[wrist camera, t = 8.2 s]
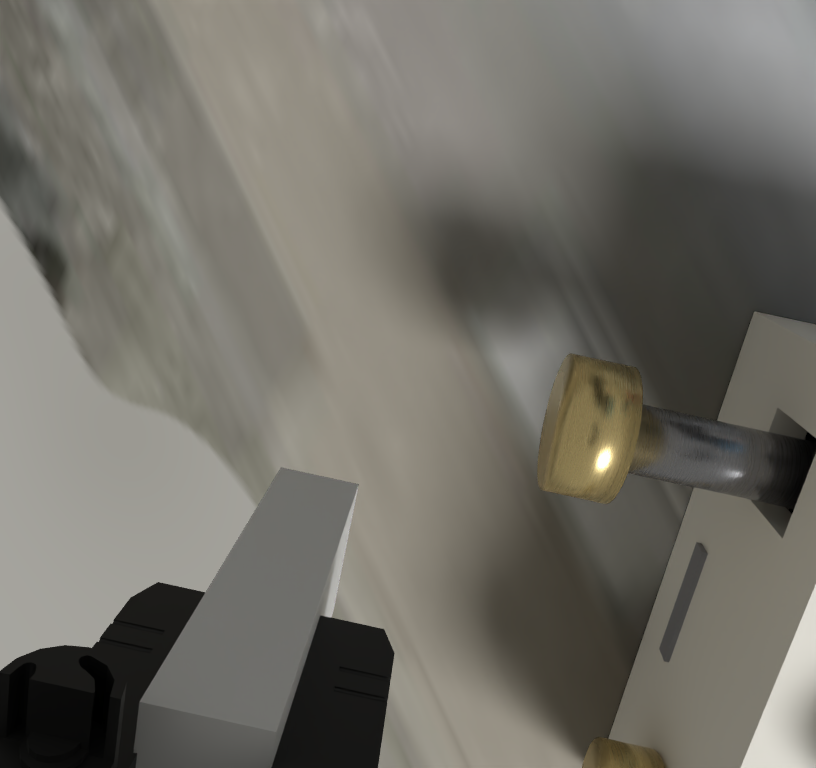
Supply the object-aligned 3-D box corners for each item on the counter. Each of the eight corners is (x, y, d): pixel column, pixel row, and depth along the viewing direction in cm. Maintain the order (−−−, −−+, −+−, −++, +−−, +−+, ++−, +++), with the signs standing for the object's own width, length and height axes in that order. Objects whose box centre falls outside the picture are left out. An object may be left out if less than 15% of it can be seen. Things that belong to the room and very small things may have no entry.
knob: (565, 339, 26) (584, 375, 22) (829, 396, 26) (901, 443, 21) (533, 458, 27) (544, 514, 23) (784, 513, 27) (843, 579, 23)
